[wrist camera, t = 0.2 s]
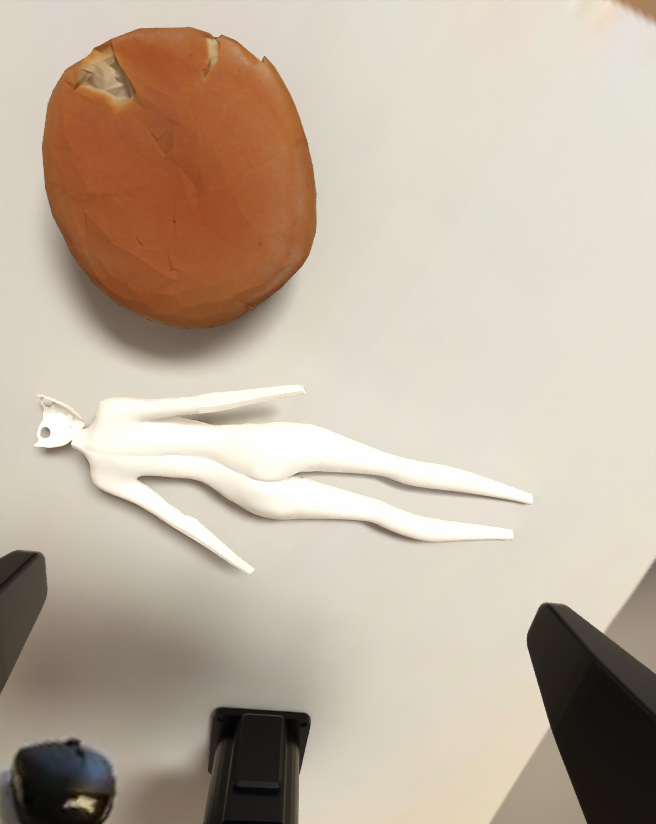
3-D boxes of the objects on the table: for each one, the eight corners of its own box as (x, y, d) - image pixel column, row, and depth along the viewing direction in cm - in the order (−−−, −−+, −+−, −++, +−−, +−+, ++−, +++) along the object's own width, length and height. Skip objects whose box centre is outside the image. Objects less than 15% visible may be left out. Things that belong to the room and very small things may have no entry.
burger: (218, 357, 21) (196, 391, 17) (35, 208, 19) (-46, 204, 14) (367, 185, 19) (384, 174, 15) (180, -16, 16) (134, -101, 12)
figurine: (539, 417, 26) (52, 301, 20) (580, 449, 22) (11, 321, 17) (466, 560, 30) (40, 497, 24) (492, 606, 26) (4, 546, 20)
